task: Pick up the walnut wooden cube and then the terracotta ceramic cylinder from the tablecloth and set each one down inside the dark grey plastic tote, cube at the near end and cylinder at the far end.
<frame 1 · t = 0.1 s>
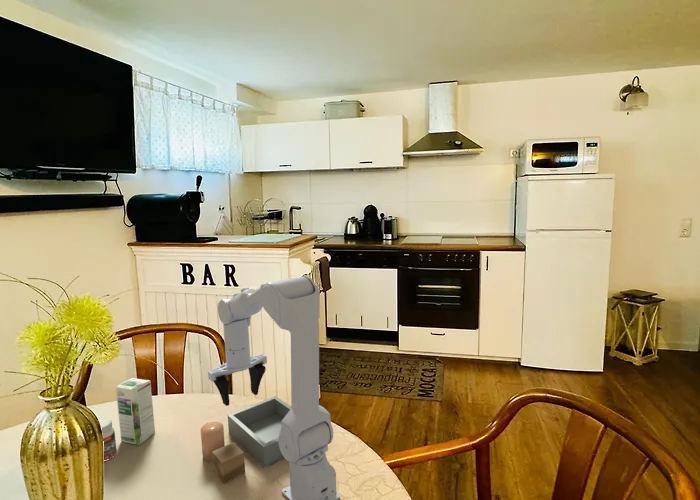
hand: (240, 398, 105), 10 cm above the table, tool pointing down, fingers open, 7 cm apart
tote: (271, 437, 106), on the table
walnut cube: (229, 472, 93), on the table
terracotta cylinder: (214, 455, 99), on the table
syrup box: (138, 437, 107), on the table
pill bottle: (105, 457, 100), on the table
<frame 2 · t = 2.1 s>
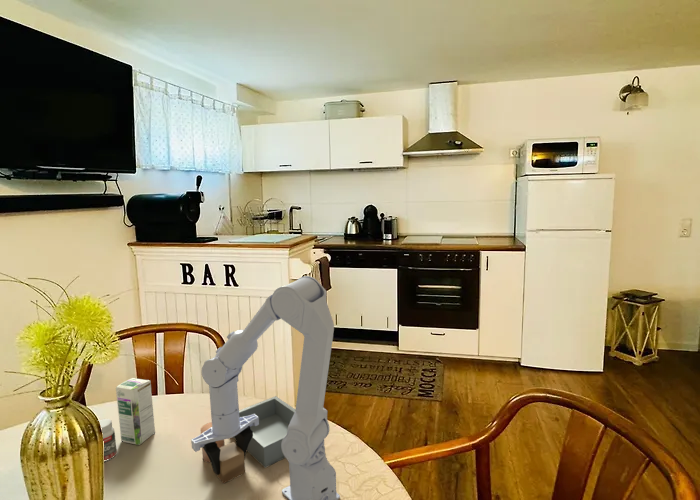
hand: (229, 466, 93), 1 cm above the table, tool pointing down, fingers closed on walnut cube, 5 cm apart
walnut cube: (229, 472, 93), on the table, touching gripper
everything else where it was.
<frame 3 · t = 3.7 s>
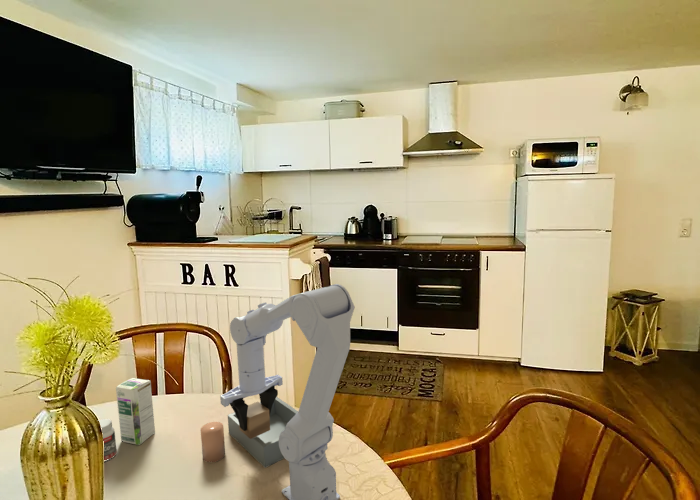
hand: (254, 423, 97), 8 cm above the table, tool pointing down, fingers closed on walnut cube, 5 cm apart
walnut cube: (254, 429, 97), point 7 cm above the table, touching gripper
everything else where it was.
when the fingers open (3 cm above the table, at t = 5.6 s): walnut cube drops 1 cm, resting on tote.
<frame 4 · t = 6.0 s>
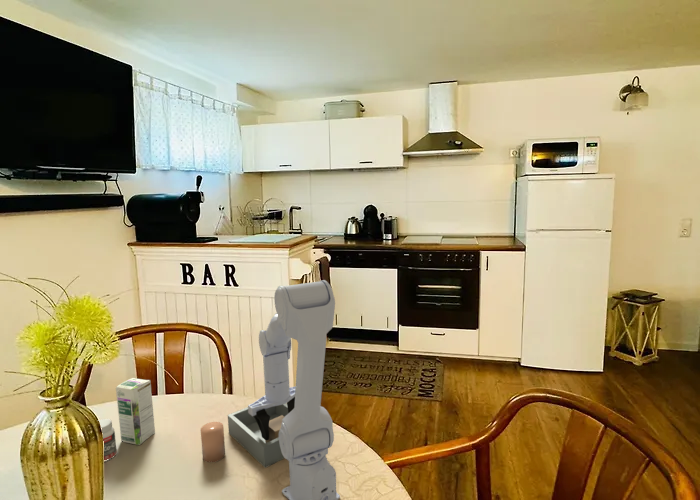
hand: (279, 431, 102), 3 cm above the table, tool pointing down, fingers open, 7 cm apart
walnut cube: (279, 442, 103), point 1 cm above the table, touching tote
everything else where it was.
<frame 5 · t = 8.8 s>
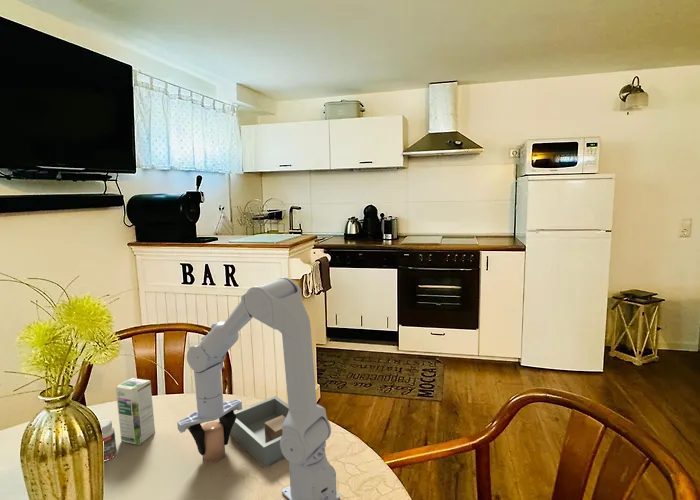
hand: (213, 447, 99), 2 cm above the table, tool pointing down, fingers closed on terracotta cylinder, 5 cm apart
terracotta cylinder: (214, 455, 99), on the table, touching gripper
everything else where it was.
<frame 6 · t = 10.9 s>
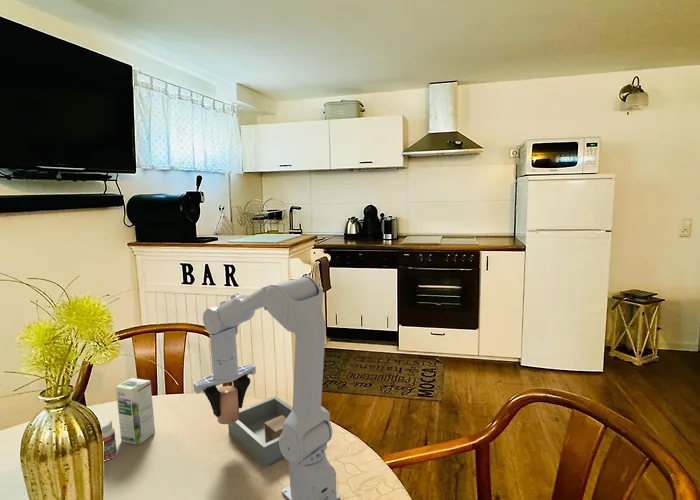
hand: (228, 410, 101), 9 cm above the table, tool pointing down, fingers closed on terracotta cylinder, 5 cm apart
terracotta cylinder: (228, 418, 101), point 7 cm above the table, touching gripper
everything else where it was.
when the fingers open (4 cm above the table, at t = 13.1 s): terracotta cylinder drops 1 cm, resting on tote.
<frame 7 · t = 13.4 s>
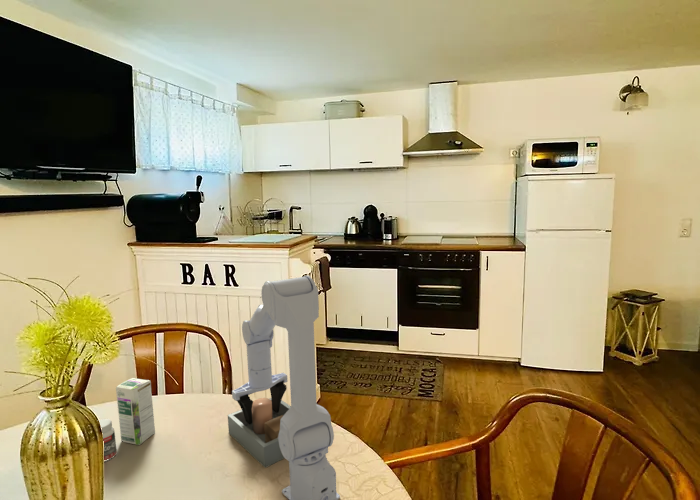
hand: (262, 416, 108), 4 cm above the table, tool pointing down, fingers open, 7 cm apart
terracotta cylinder: (263, 428, 109), point 1 cm above the table, touching tote
everything else where it was.
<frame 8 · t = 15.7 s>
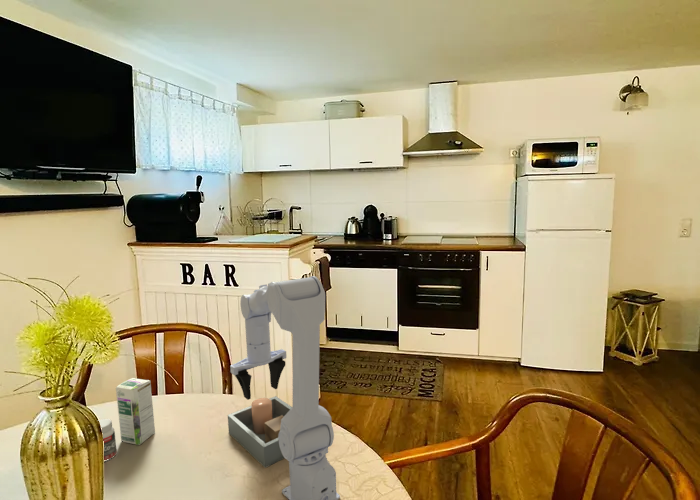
hand: (261, 392, 107), 10 cm above the table, tool pointing down, fingers open, 7 cm apart
nothing on the table moved.
at the end: walnut cube inside the target area on the tote (3.9 cm from its centre), point 0.6 cm above the tote's base; terracotta cylinder inside the target area on the tote (4.1 cm from its centre), point 0.6 cm above the tote's base; terracotta cylinder tilted 0° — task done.
